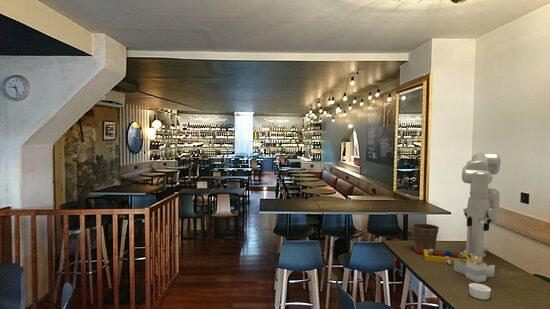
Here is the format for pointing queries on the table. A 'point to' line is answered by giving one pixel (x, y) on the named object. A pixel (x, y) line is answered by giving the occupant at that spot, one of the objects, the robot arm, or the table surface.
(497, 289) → the table surface
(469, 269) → the white corner connector
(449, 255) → the mechanical clamp
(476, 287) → the ramekin
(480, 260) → the wooden bell shape
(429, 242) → the plant pot
